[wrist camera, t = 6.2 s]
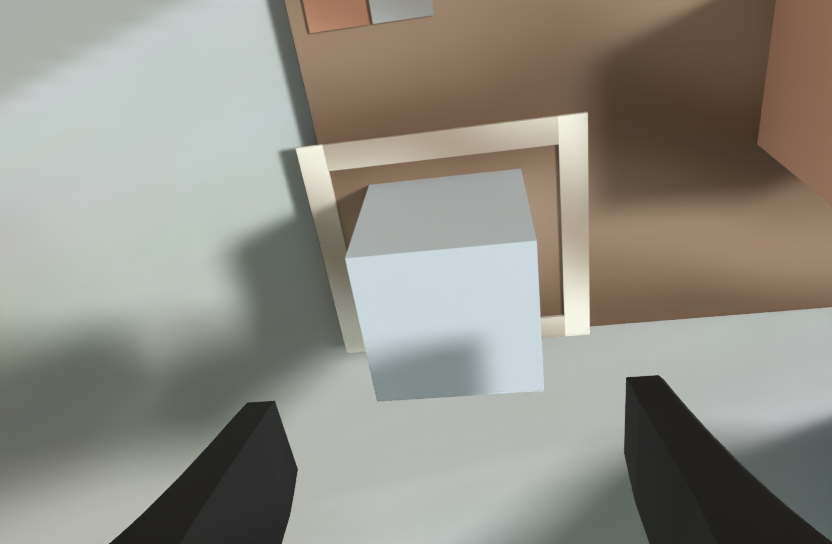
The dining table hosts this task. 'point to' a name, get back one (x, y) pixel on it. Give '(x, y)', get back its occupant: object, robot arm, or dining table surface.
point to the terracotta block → (800, 93)
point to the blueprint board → (571, 146)
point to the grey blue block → (448, 287)
